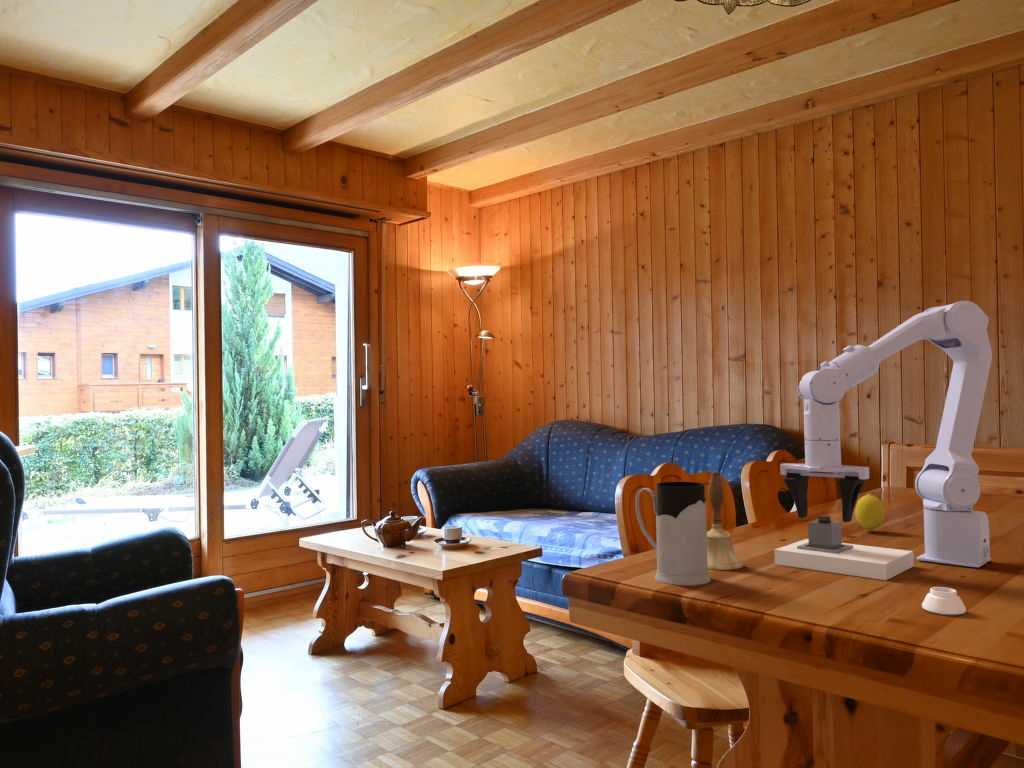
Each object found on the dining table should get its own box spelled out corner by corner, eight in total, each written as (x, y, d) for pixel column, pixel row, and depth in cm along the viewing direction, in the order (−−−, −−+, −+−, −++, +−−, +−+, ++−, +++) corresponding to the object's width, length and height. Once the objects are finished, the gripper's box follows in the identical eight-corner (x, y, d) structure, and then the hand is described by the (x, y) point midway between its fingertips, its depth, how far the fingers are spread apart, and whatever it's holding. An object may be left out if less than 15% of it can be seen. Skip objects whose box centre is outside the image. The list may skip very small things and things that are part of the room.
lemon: (857, 533, 158) (856, 494, 158) (854, 529, 163) (853, 491, 163) (887, 534, 156) (886, 495, 156) (882, 530, 161) (881, 492, 161)
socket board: (913, 566, 127) (913, 548, 127) (885, 580, 118) (885, 561, 118) (807, 552, 140) (806, 536, 140) (774, 564, 131) (774, 547, 131)
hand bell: (684, 565, 131) (682, 472, 131) (709, 558, 137) (707, 468, 137) (728, 573, 125) (726, 475, 125) (752, 564, 131) (750, 471, 131)
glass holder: (685, 588, 115) (682, 488, 116) (619, 572, 127) (617, 481, 127) (722, 579, 121) (720, 484, 121) (655, 564, 132) (653, 477, 132)
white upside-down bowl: (974, 613, 100) (937, 605, 105) (973, 591, 100) (936, 583, 105) (950, 619, 98) (914, 610, 102) (950, 596, 98) (913, 588, 102)
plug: (842, 562, 131) (840, 515, 131) (832, 566, 128) (831, 518, 128) (819, 559, 134) (817, 513, 134) (809, 563, 131) (807, 516, 131)
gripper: (771, 440, 134) (773, 518, 133) (856, 442, 123) (859, 526, 123) (789, 438, 139) (791, 513, 138) (872, 439, 129) (875, 520, 128)
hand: (824, 519), depth 131 cm, fingers open, 7 cm apart
